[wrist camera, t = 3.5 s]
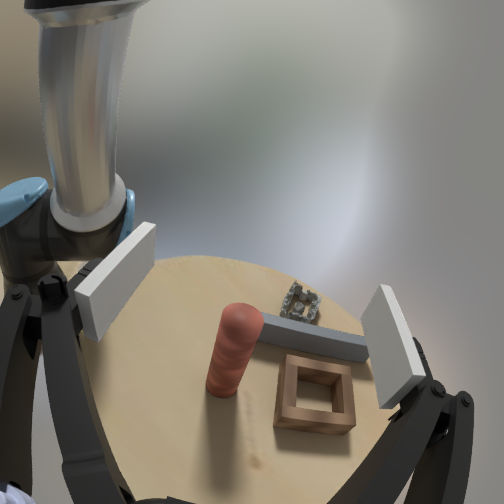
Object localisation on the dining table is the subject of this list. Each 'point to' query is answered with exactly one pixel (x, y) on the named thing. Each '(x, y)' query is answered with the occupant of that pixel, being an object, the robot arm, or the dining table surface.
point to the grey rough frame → (300, 304)
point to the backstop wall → (313, 339)
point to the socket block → (310, 419)
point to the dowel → (233, 348)
